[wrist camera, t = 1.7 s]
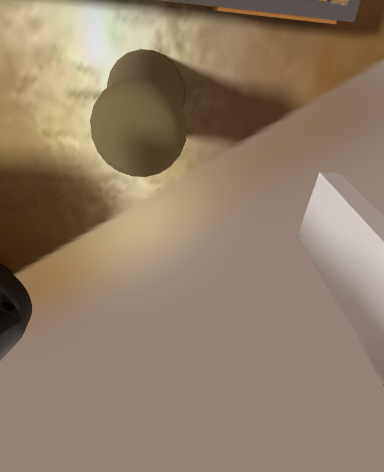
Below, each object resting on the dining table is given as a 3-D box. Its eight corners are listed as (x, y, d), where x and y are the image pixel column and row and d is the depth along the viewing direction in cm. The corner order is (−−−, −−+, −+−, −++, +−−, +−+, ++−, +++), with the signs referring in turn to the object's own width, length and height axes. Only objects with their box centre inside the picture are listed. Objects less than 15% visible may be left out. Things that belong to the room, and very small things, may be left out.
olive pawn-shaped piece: (196, 114, 27) (213, 168, 18) (130, 143, 28) (114, 208, 19) (165, 34, 23) (167, 50, 14) (91, 70, 24) (50, 107, 15)
